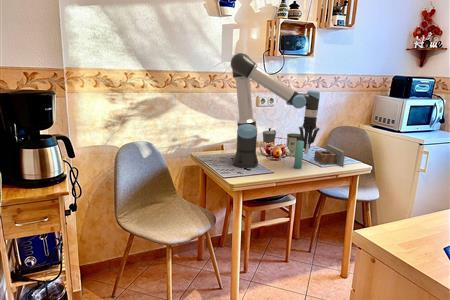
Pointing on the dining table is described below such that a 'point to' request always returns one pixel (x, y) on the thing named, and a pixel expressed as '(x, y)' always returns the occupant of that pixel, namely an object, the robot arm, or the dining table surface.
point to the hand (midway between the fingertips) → (305, 153)
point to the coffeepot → (269, 136)
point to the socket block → (325, 157)
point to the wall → (339, 154)
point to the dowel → (298, 154)
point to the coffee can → (292, 143)
